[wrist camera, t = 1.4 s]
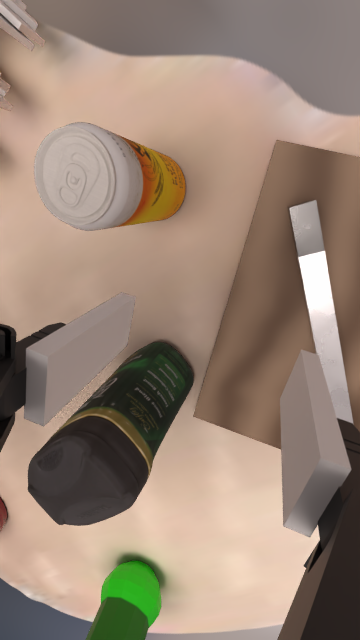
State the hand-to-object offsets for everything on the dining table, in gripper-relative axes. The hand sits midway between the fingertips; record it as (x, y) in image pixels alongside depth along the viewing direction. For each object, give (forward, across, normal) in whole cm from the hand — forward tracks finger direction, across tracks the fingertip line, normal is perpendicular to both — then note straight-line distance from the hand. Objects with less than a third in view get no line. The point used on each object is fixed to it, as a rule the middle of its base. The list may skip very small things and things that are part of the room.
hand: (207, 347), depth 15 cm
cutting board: (+19, +10, -4) cm, 22 cm away
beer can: (+19, -10, +6) cm, 23 cm away
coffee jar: (+19, -6, -16) cm, 26 cm away
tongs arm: (+17, +9, -3) cm, 20 cm away
